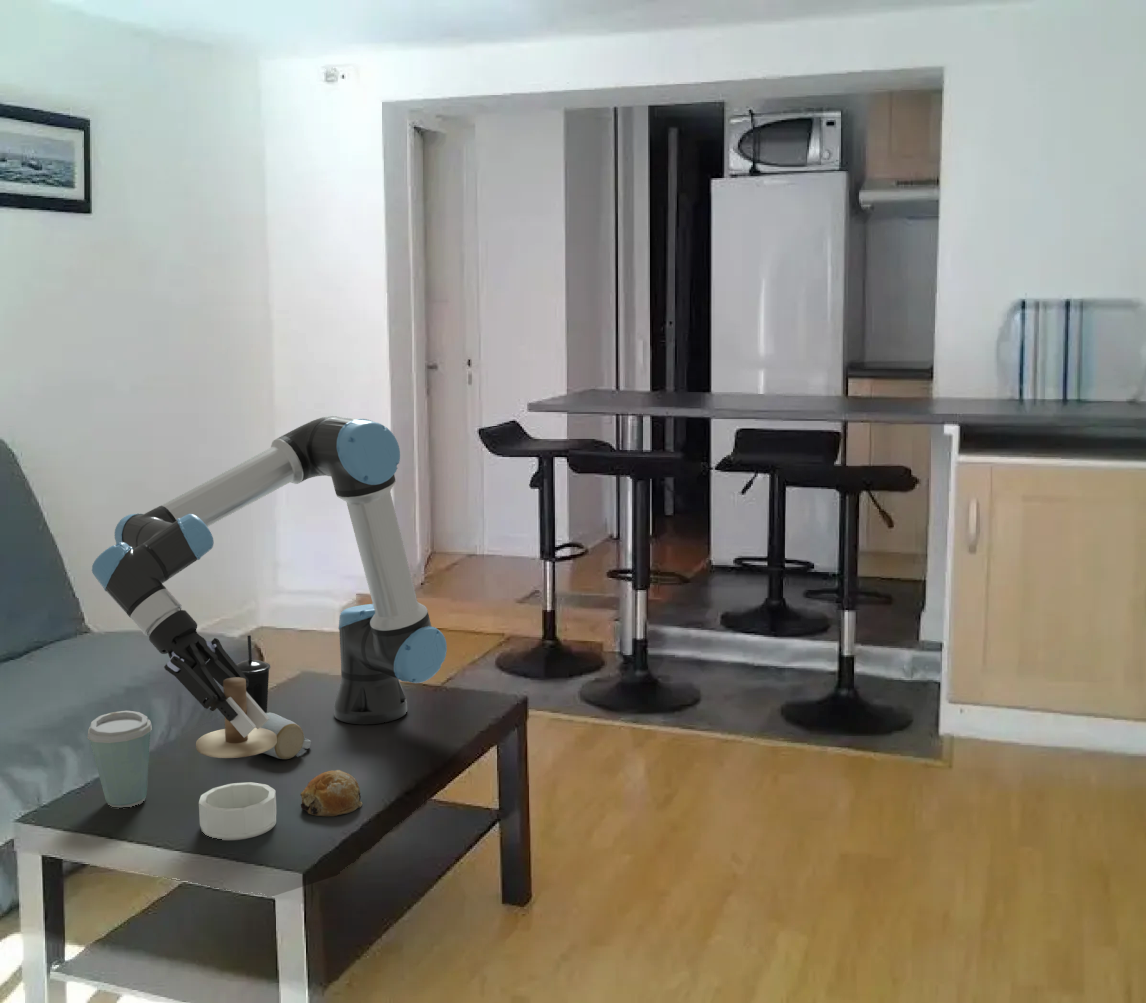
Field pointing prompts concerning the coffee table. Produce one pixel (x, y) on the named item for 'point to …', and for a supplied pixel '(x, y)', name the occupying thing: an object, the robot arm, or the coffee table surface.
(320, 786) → the bread roll
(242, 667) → the drinking cup
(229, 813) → the bowl
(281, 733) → the ceramic mug
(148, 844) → the coffee table surface
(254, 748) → the lid
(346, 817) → the coffee table surface
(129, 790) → the disposable coffee cup
